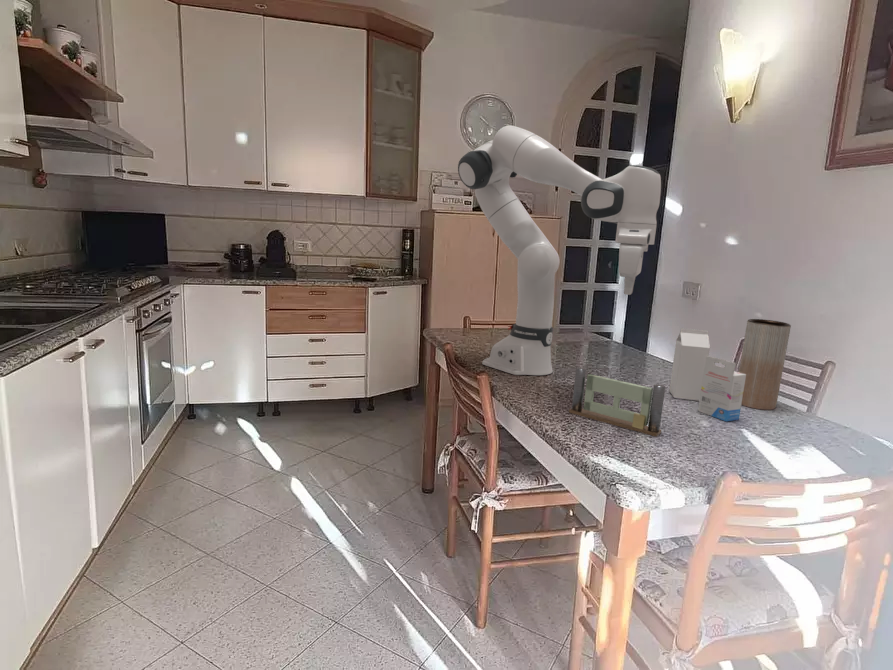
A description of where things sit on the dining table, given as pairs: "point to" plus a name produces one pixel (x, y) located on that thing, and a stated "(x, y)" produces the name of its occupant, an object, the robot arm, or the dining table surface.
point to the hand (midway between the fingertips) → (627, 294)
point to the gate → (617, 397)
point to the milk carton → (689, 364)
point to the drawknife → (636, 425)
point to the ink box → (721, 390)
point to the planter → (763, 362)
